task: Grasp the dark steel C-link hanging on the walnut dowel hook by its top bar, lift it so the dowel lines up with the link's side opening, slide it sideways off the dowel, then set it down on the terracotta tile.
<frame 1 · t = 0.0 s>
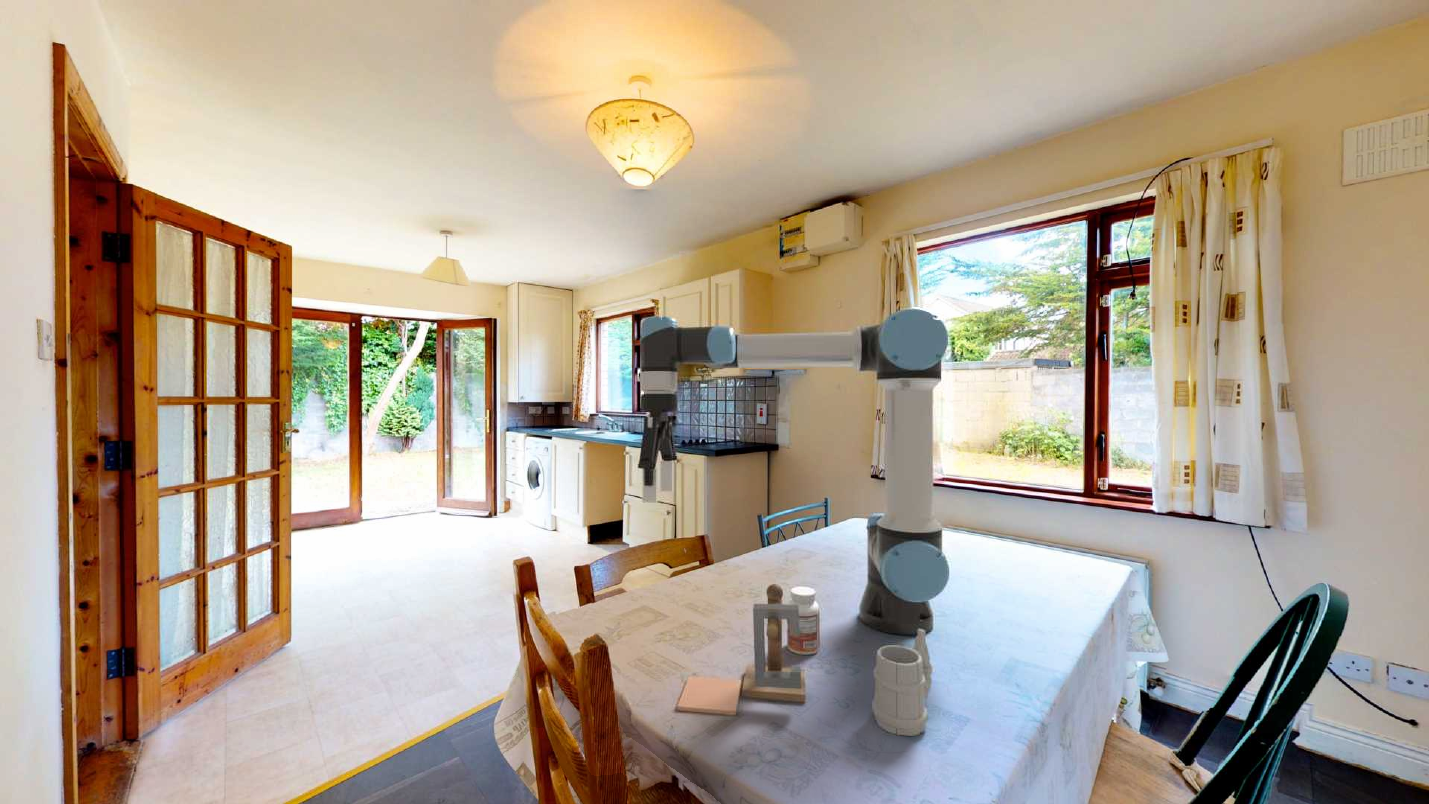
hand: (659, 496, 107), 28 cm above the table, fingers open, 13 cm apart
pill bottle: (803, 649, 100), on the table
hook stand: (773, 699, 83), on the table
mug: (907, 717, 78), on the table
c link: (778, 684, 81), point 3 cm above the table, touching hook stand
tile: (710, 696, 84), on the table
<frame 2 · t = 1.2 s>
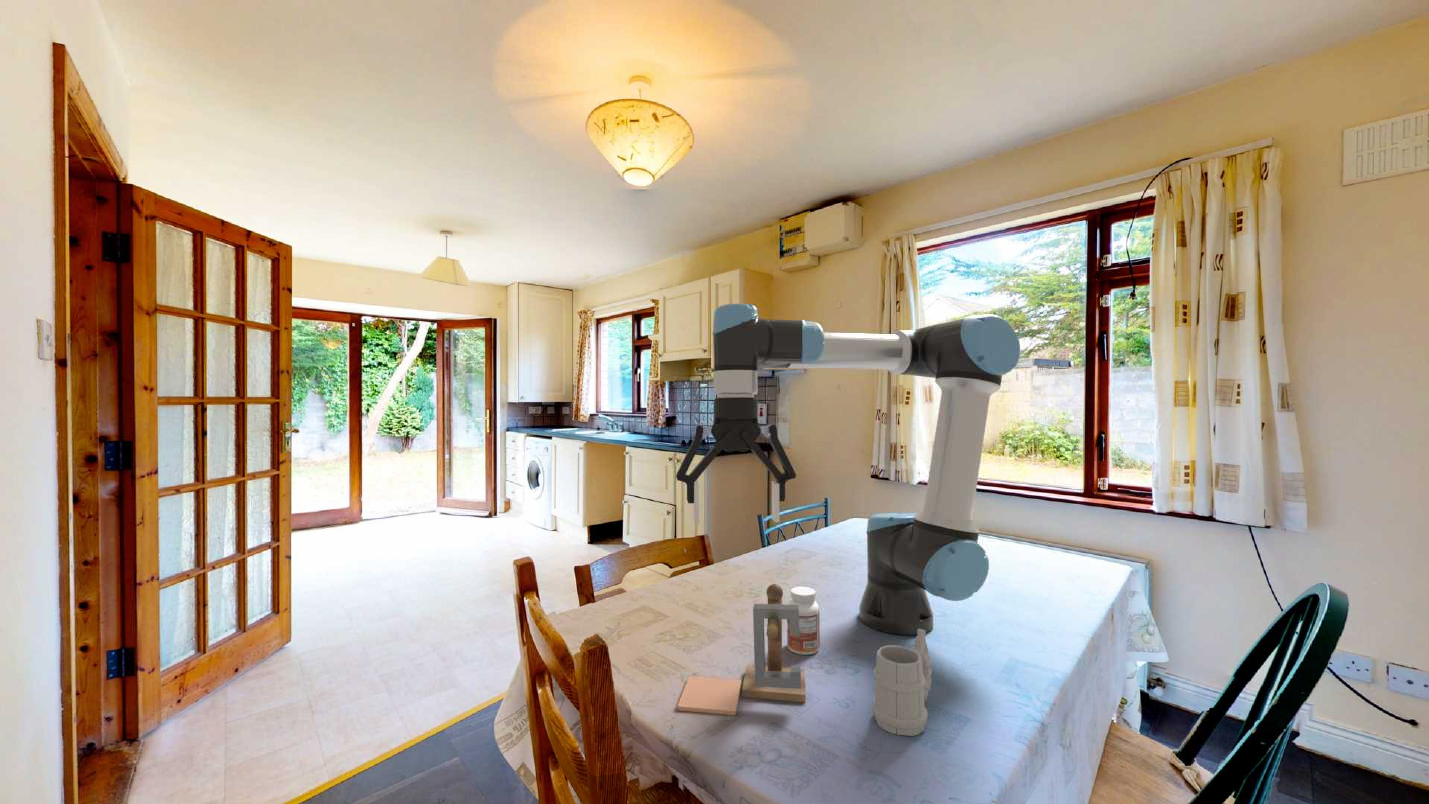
hand: (736, 521, 89), 27 cm above the table, fingers open, 13 cm apart
nothing on the table moved.
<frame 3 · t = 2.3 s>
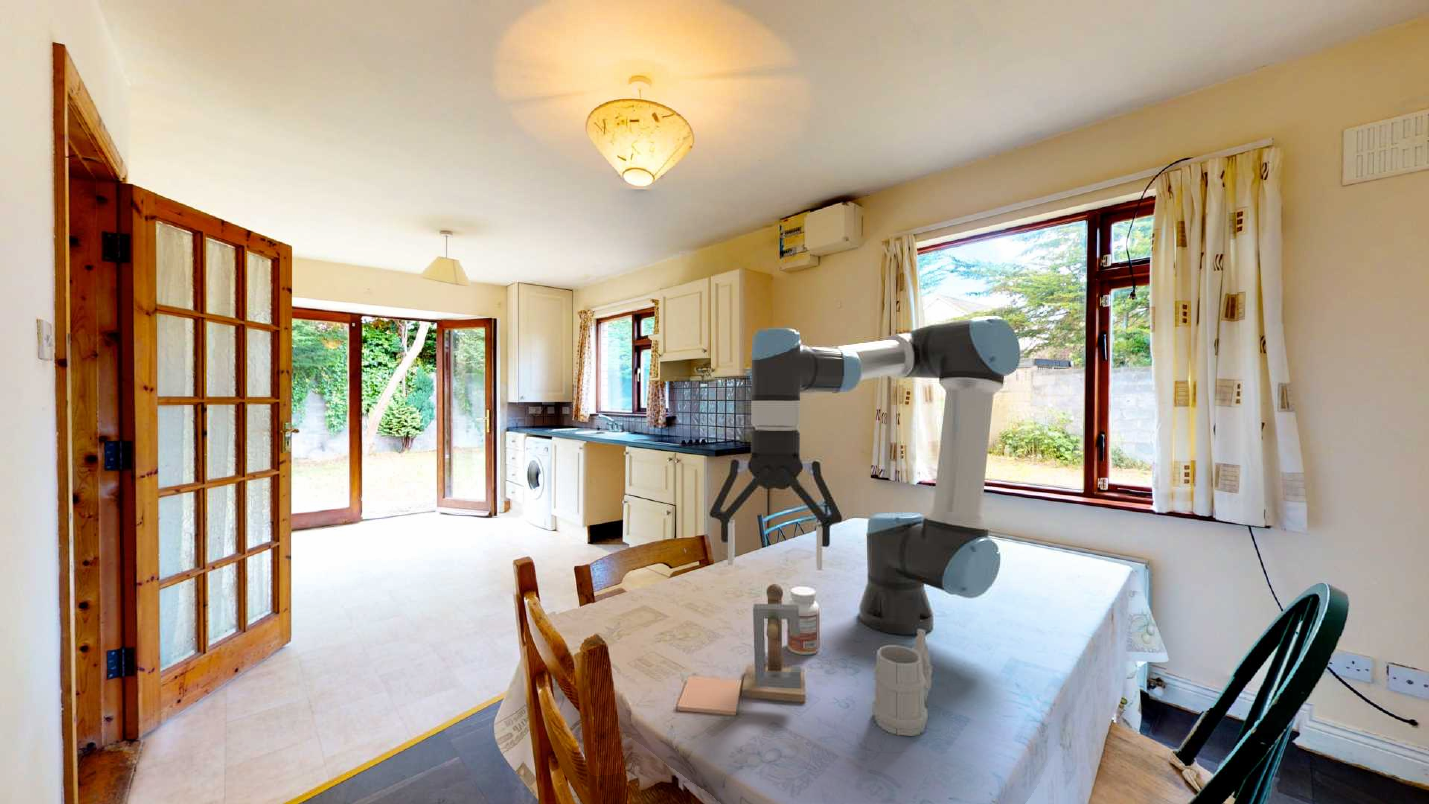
hand: (774, 565, 81), 22 cm above the table, fingers open, 13 cm apart
nothing on the table moved.
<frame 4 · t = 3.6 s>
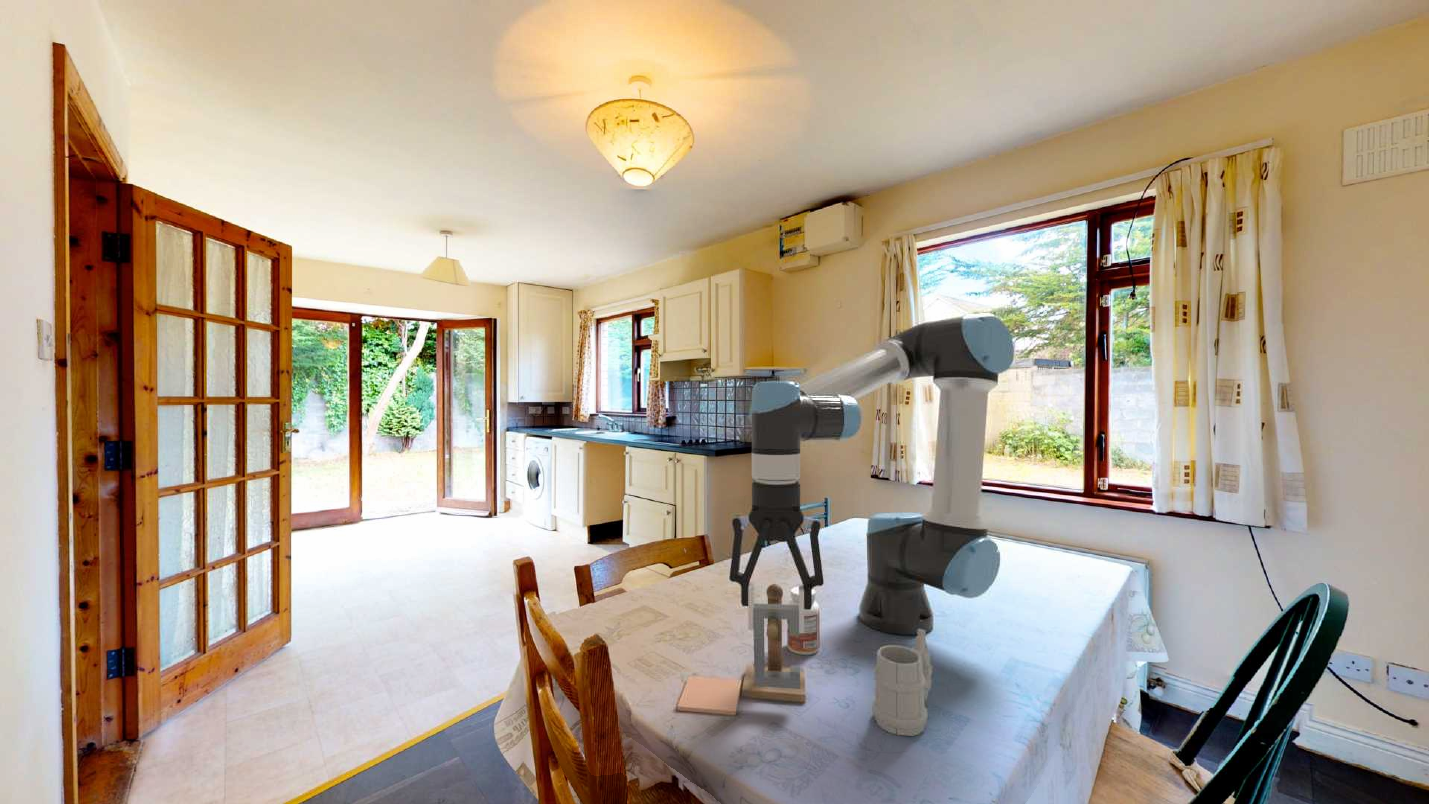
hand: (776, 627, 81), 12 cm above the table, fingers closed on c link, 7 cm apart
c link: (777, 684, 81), point 3 cm above the table, touching gripper, hook stand
everything else where it was.
when the fingers open (11 cm above the table, at t = 9.7 s): c link drops 1 cm, resting on tile.
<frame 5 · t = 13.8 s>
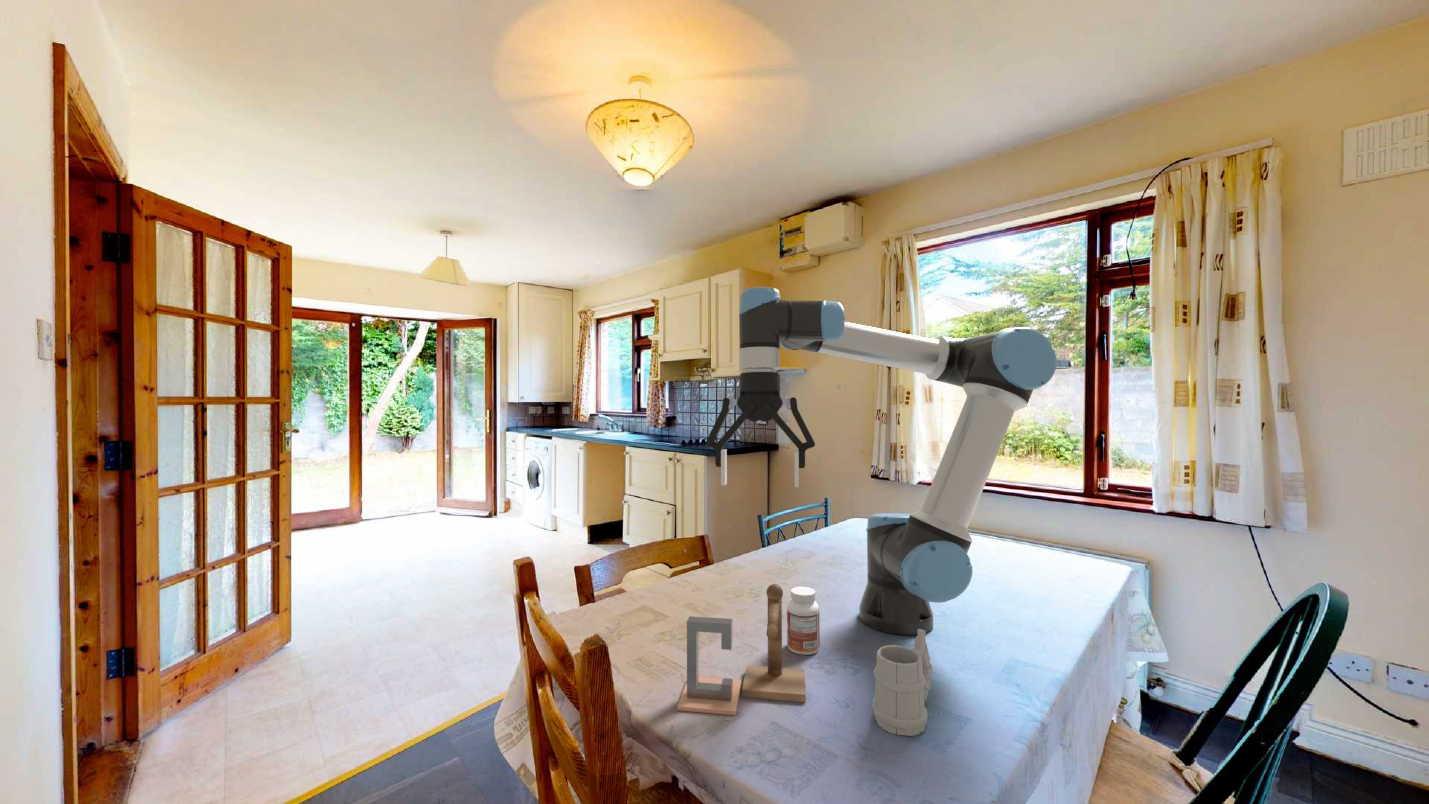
hand: (759, 485, 98), 32 cm above the table, fingers open, 13 cm apart
c link: (709, 696, 83), point 1 cm above the table, touching tile
everything else where it was.
at the end: c link inside the target area on the tile (1.0 cm from its centre), point 0.6 cm above the tile's base; c link touching tile; the gripper is holding nothing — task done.
